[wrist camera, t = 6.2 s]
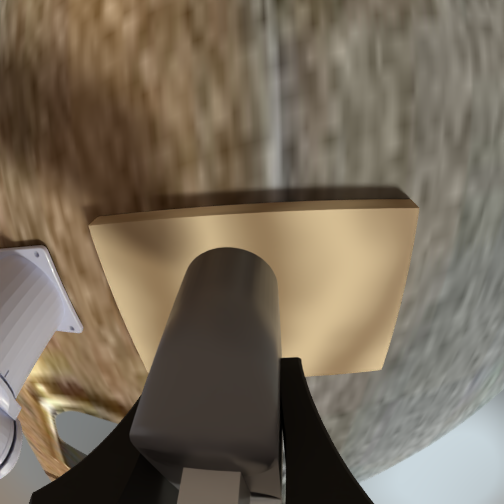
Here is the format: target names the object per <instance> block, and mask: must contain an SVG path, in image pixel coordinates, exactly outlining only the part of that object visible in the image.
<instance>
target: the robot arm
mask: <svg viewBox="0 0 504 504" xmlns="http://www.w3.org/2000/svg"><path fill="white" fill-rule="evenodd" d="M55 331H64V332H74V333H81V332H82V331H83V326H82V324H81V322H80V320H79V318H78V316H77V314H76V312H75V310H74V308H73V306H72V304H71V302H70V300H69V298H68V296H67V293H66V291H65V289H64V287H63V285H62V282H61V280H60V278H59V276H58V273H57V271H56V269H55V266H54V264H53V261H52V259H51V256H50V254H49V251H48V249H47V248H46V247H45V246H43V245H38V246H27V247H15V248H4V249H0V479H1V478H2V477H4V476H5V475H7V474H8V473H9V472H10V471H11V470H12V468H13V467H14V466H15V464H16V462H17V460H18V458H19V455H20V452H21V447H22V427H21V424H20V421H19V420H18V418H17V416H18V414H19V412H20V410H21V406H20V405H19V404H18V403H17V402H16V400H15V399H16V397H17V395H18V393H19V392H20V390H21V388H22V386H23V384H24V383H25V381H26V379H27V377H28V375H29V374H30V372H31V370H32V368H33V367H34V365H35V363H36V362H37V360H38V358H39V357H40V355H41V353H42V352H43V350H44V348H45V347H46V345H47V344H48V342H49V340H50V339H51V337H52V336H53V334H54V332H55ZM280 394H281V412H282V430H283V440H284V450H285V460H286V504H374V503H373V502H372V501H371V499H370V498H369V497H368V495H367V494H366V493H365V491H364V490H363V489H362V487H361V486H360V485H359V483H358V482H357V480H356V479H355V478H354V476H353V475H352V473H351V472H350V470H349V469H348V467H347V466H346V464H345V463H344V461H343V459H342V458H341V456H340V454H339V453H338V451H337V449H336V447H335V446H334V444H333V442H332V440H331V438H330V436H329V434H328V432H327V430H326V428H325V426H324V424H323V422H322V420H321V418H320V416H319V413H318V411H317V408H316V406H315V404H314V401H313V399H312V396H311V394H310V391H309V388H308V385H307V382H306V378H305V375H304V371H303V367H302V361H301V359H300V358H299V357H289V358H280ZM140 398H141V396H140V397H139V399H138V400H137V402H136V403H135V404H134V406H133V407H132V408H131V409H130V411H129V412H128V413H127V414H126V416H125V417H124V418H123V419H122V420H121V422H120V423H119V424H118V425H117V427H116V428H115V429H114V430H113V431H112V432H111V433H110V434H109V435H108V436H107V437H106V438H105V439H104V440H103V442H101V443H100V444H99V446H97V447H96V448H95V449H94V450H93V451H92V452H91V453H90V454H89V455H88V456H86V457H85V458H84V459H83V460H82V461H81V462H79V463H78V464H77V465H75V466H74V467H73V468H71V469H70V470H69V471H67V472H66V473H65V474H63V475H62V476H60V477H59V478H57V479H56V480H54V481H53V482H51V483H49V484H48V485H46V486H44V487H42V488H41V489H39V490H37V491H35V492H33V494H32V496H31V499H30V502H29V504H177V501H178V495H179V490H178V489H177V488H176V487H175V486H174V485H173V484H172V483H171V482H170V481H168V480H167V479H166V478H165V477H164V476H163V475H162V474H161V473H160V472H159V471H158V470H157V469H156V468H155V467H154V466H153V465H152V464H151V463H150V462H149V461H148V460H147V459H146V458H145V457H144V456H143V455H142V454H141V453H140V452H139V451H138V450H137V449H136V447H135V446H134V445H133V444H132V442H131V440H130V437H129V434H130V430H131V427H132V423H133V420H134V417H135V414H136V411H137V408H138V405H139V401H140Z"/></svg>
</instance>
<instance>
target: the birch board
mask: <svg viewBox="0 0 504 504" xmlns="http://www.w3.org/2000/svg"><path fill="white" fill-rule="evenodd" d="M418 214H419V207H418V206H417V205H416V204H415V203H414V202H413V201H412V200H411V199H369V200H325V201H296V202H274V203H255V204H238V205H222V206H208V207H194V208H181V209H169V210H158V211H147V212H137V213H127V214H117V215H108V216H99V217H97V218H96V219H95V220H94V221H93V222H92V223H91V224H90V225H89V230H90V233H91V236H92V239H93V242H94V245H95V248H96V251H97V253H98V256H99V259H100V262H101V265H102V267H103V270H104V273H105V275H106V278H107V281H108V283H109V286H110V288H111V291H112V294H113V296H114V299H115V301H116V303H117V306H118V308H119V311H120V313H121V315H122V318H123V320H124V322H125V325H126V327H127V329H128V331H129V334H130V336H131V338H132V340H133V342H134V344H135V347H136V349H137V351H138V353H139V355H140V357H141V359H142V361H143V363H144V365H145V367H146V369H147V371H148V373H149V371H150V368H151V366H152V363H153V360H154V357H155V354H156V351H157V348H158V345H159V343H160V340H161V337H162V334H163V331H164V329H165V326H166V323H167V320H168V318H169V315H170V312H171V310H172V307H173V304H174V302H175V299H176V296H177V294H178V291H179V288H180V286H181V283H182V281H183V278H184V275H185V273H186V270H187V268H188V266H189V265H190V263H191V262H192V261H193V260H194V259H195V258H196V257H197V256H199V255H200V254H202V253H204V252H206V251H208V250H211V249H215V248H221V247H233V248H240V249H244V250H247V251H249V252H252V253H254V254H256V255H257V256H259V257H260V258H262V259H263V260H264V261H265V262H266V263H267V264H268V265H269V266H270V267H271V269H272V270H273V272H274V274H275V276H276V279H277V283H278V295H279V311H280V329H281V347H282V358H289V357H299V358H300V359H301V361H302V367H303V371H304V375H305V376H320V375H334V374H346V373H357V372H367V371H376V370H381V369H382V366H383V363H384V360H385V357H386V354H387V351H388V348H389V344H390V341H391V337H392V334H393V331H394V327H395V323H396V320H397V316H398V312H399V308H400V304H401V300H402V296H403V292H404V288H405V283H406V279H407V274H408V270H409V265H410V260H411V255H412V250H413V244H414V239H415V233H416V227H417V220H418Z"/></svg>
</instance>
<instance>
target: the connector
mask: <svg viewBox="0 0 504 504" xmlns="http://www.w3.org/2000/svg"><path fill="white" fill-rule="evenodd" d="M280 358H282V347H281V329H280V311H279V295H278V283H277V279H276V276H275V274H274V272H273V270H272V269H271V267H270V266H269V265H268V264H267V263H266V262H265V261H264V260H263V259H262V258H260V257H259V256H257V255H256V254H254V253H252V252H249V251H247V250H244V249H240V248H233V247H221V248H215V249H211V250H208V251H206V252H204V253H202V254H200V255H199V256H197V257H196V258H195V259H194V260H193V261H192V262H191V263H190V265H189V266H188V268H187V270H186V273H185V275H184V278H183V281H182V283H181V286H180V288H179V291H178V294H177V296H176V299H175V302H174V304H173V307H172V310H171V312H170V315H169V318H168V320H167V323H166V326H165V329H164V331H163V334H162V337H161V340H160V343H159V345H158V348H157V351H156V354H155V357H154V360H153V363H152V366H151V368H150V371H149V374H148V377H147V380H146V383H145V386H144V389H143V392H142V395H141V398H140V401H139V405H138V408H137V411H136V414H135V417H134V420H133V423H132V427H131V430H130V434H129V437H130V440H131V442H132V444H133V445H134V446H135V447H136V449H137V450H138V451H139V452H140V453H141V454H142V455H143V456H144V457H145V458H146V459H147V460H148V461H149V462H150V463H151V464H152V465H153V466H154V467H155V468H156V469H157V470H158V471H159V472H160V473H161V474H162V475H163V476H164V477H165V478H166V479H167V480H168V481H170V482H171V483H172V484H173V485H174V486H175V487H176V488H177V489H178V490H179V495H178V501H177V504H281V503H282V470H283V430H282V412H281V394H280Z"/></svg>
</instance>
